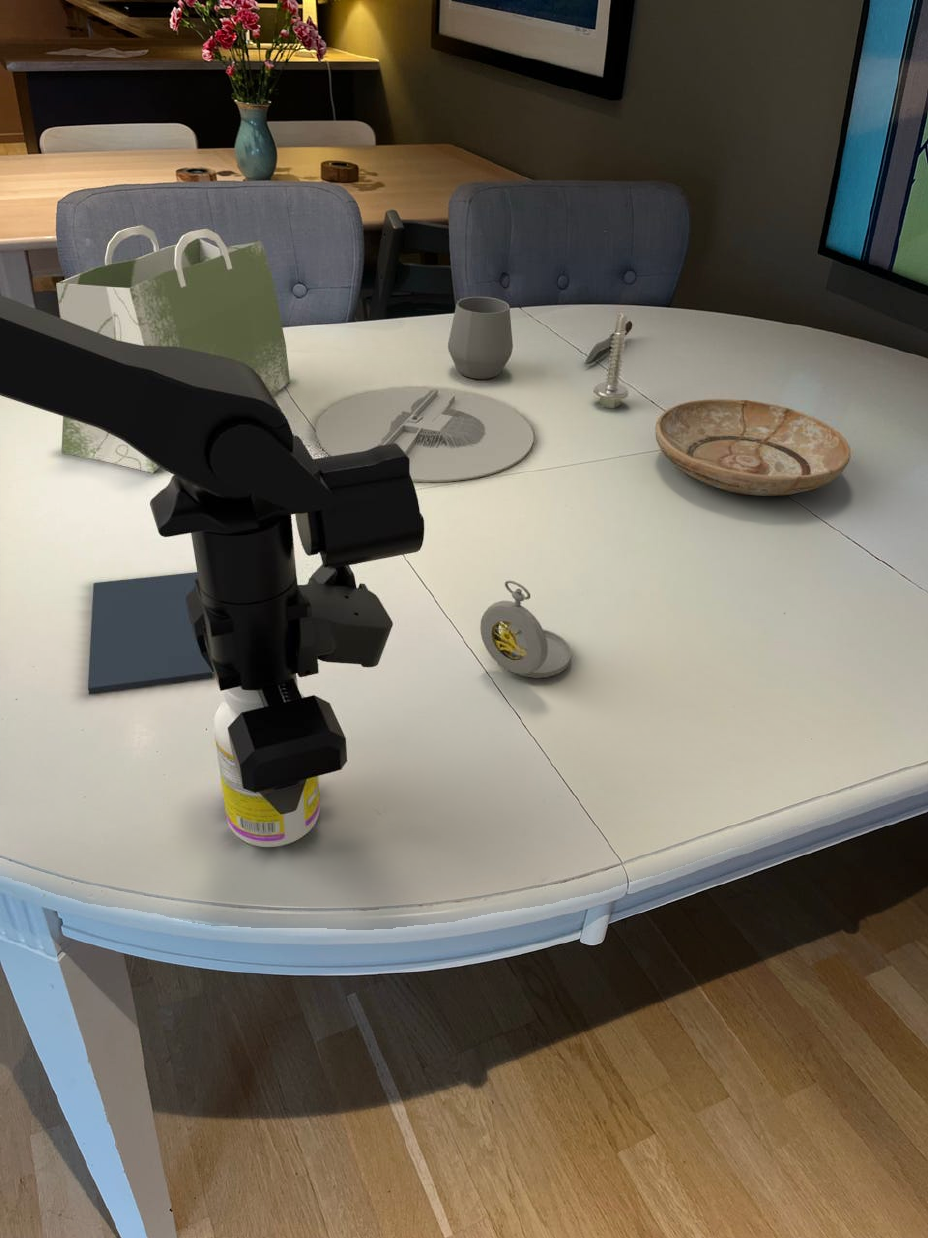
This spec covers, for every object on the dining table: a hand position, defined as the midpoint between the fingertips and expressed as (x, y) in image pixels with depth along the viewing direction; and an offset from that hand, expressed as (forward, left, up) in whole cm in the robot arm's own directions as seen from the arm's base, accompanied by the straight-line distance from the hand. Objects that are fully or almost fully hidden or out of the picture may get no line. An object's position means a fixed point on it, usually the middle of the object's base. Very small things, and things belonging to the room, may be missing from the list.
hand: (271, 765), depth 66 cm
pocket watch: (+25, +10, -5) cm, 27 cm away
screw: (+62, +59, -5) cm, 86 cm away
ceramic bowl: (+68, +36, -5) cm, 77 cm away
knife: (+72, +77, -5) cm, 105 cm away
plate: (+34, +58, -5) cm, 67 cm away
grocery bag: (+6, +72, -5) cm, 72 cm away
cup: (+49, +75, -5) cm, 90 cm away
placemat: (-5, +26, -5) cm, 27 cm away
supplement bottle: (0, 0, -5) cm, 5 cm away
